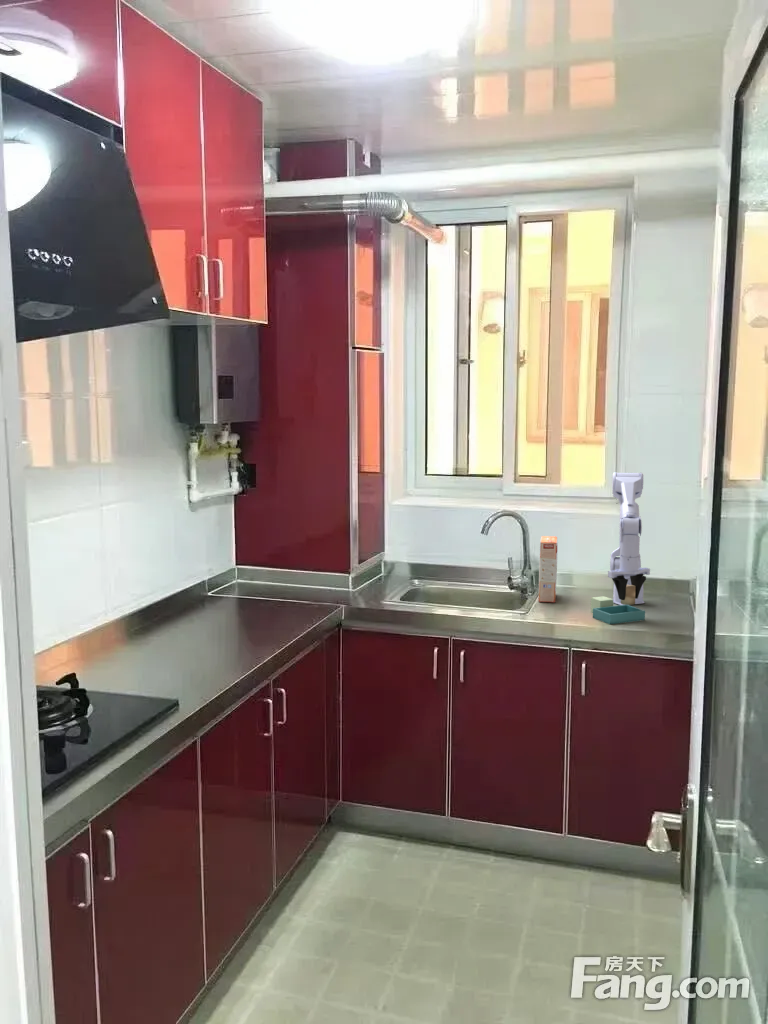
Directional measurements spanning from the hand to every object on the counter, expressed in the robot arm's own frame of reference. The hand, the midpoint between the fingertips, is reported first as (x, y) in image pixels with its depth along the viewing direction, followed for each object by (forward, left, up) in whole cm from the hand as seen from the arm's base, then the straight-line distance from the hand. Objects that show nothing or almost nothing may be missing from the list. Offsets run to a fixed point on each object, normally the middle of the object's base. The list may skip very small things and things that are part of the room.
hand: (628, 598), depth 275 cm
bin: (+3, 0, -6) cm, 7 cm away
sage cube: (+4, -8, -6) cm, 11 cm away
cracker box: (+8, -34, -6) cm, 35 cm away
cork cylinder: (0, 0, -2) cm, 2 cm away
